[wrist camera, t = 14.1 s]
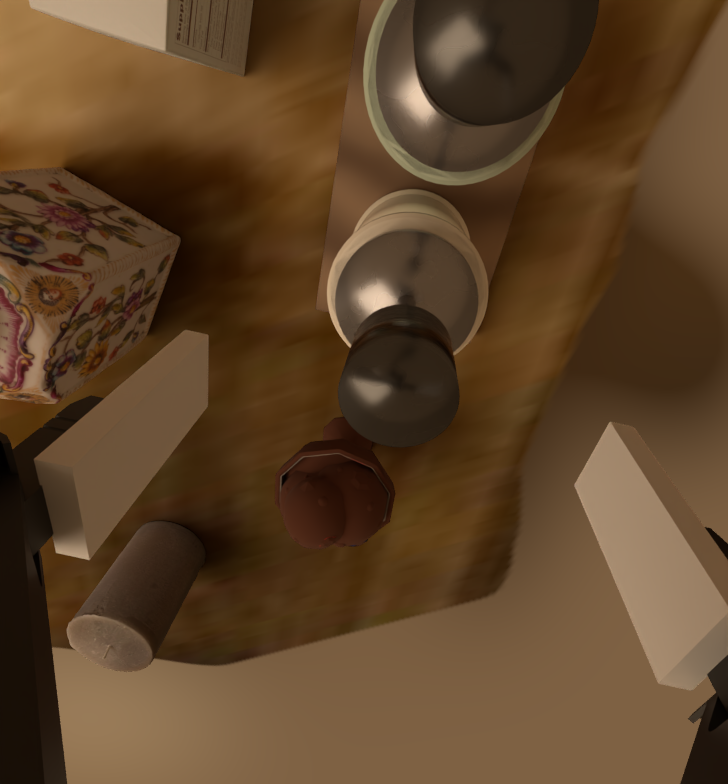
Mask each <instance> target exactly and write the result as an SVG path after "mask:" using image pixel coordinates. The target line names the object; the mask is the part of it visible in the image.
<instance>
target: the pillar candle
mask: <svg viewBox="0 0 728 784" xmlns="http://www.w3.org/2000/svg"><path fill="white" fill-rule="evenodd" d="M205 554H206V551H205V548H204V546H203V544H202V542H201V541H200V540H199V539H198V537H197V536H196V535H195V534H194V533H193V532H191V531H190V530H188V529H187V528H185V527H182V526H181V525H178V524H175V523H172V522H167V521H154V522H149V523H147V524H144V525H143V526H142V527H141V528H140V529H139V530H138V531H137V532H136V534H135V535H134V537H133V538H132V539H131V541H130V542H129V543H128V544H127V546H126V547H125V549H124V550H123V551H122V553H121V554H120V555H119V557H118V558H117V559H116V561H115V562H114V563H113V565H112V566H111V568H110V569H109V570H108V572H107V573H106V574H105V576H104V577H103V579H102V580H101V581H100V583H99V584H98V585H97V587H96V588H95V589H94V591H93V592H92V594H91V595H90V596H89V598H88V599H87V601H86V602H85V603H84V604H83V606H82V607H81V609H80V610H79V611H78V613H77V614H76V615H75V617H74V618H73V619H72V621H71V622H69V625H68V628H67V634H68V638H69V641H70V645H71V646H72V647H73V648H74V649H76V650H77V651H78V652H79V653H81V654H82V655H83V656H84V657H85V658H87V659H88V660H90V661H92V662H94V663H95V664H98V665H100V666H102V667H104V668H107V669H112V670H116V671H124V672H127V671H128V672H132V671H138V670H141V669H144V668H146V667H147V666H148V665H150V664H151V662H152V661H153V659H154V657H155V655H156V653H157V651H158V649H159V647H160V646H161V644H162V642H163V640H164V638H165V636H166V634H167V632H168V630H169V628H170V626H171V624H172V622H173V620H174V619H175V617H176V615H177V613H178V611H179V609H180V607H181V605H182V603H183V601H184V599H185V598H186V596H187V594H188V592H189V590H190V588H191V586H192V584H193V582H194V581H195V579H196V577H197V574H198V572H199V569H200V568H201V567H202V566H203V564H204V562H205V560H206V558H205V556H206V555H205Z"/></svg>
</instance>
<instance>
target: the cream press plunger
mask: <svg viewBox="0 0 728 784" xmlns="http://www.w3.org/2000/svg"><path fill="white" fill-rule="evenodd" d="M335 309H336V315H337V319H338V322H339V325H340V328H341V330H342V332H343V334H344V335H345V337H346V339H347V340H348V341H349V343H350V344H351V348H350V351H349V354H348V357H347V360H346V363H345V366H344V369H343V372H342V376H341V379H340V382H339V388H338V399H339V405H340V408H341V411H342V413H343V415H344V417H345V419H346V420H347V422H348V423H349V424H350V425H351V426H352V428H353V429H354V430H356V431H357V432H358V433H359V434H360V435H362V436H363V437H365V438H367V439H369V440H370V441H373V442H375V443H378V444H381V445H385V446H391V447H410V446H415V445H419V444H422V443H425V442H427V441H430V440H431V439H433V438H435V437H436V436H438V435H439V434H441V433H442V432H443V431H444V430H445V429H446V428H447V427H448V426H449V424H450V423H451V421H452V420H453V418H454V416H455V414H456V412H457V409H458V405H459V386H458V380H457V374H456V367H455V361H454V354H453V352H455V351H456V350H457V349H458V348H459V347H460V346H461V345H462V344H463V342H464V341H465V340H466V338H467V337H468V335H469V333H470V332H471V330H472V327H473V325H474V323H475V320H476V316H477V311H478V289H477V284H476V281H475V277H474V274H473V272H472V270H471V268H470V265H469V263H468V262H467V260H466V259H465V257H464V256H463V255H462V253H461V252H460V251H459V250H458V249H457V248H456V247H455V246H454V245H452V244H451V243H450V242H449V241H447V240H445V239H444V238H442V237H440V236H438V235H436V234H434V233H431V232H427V231H424V230H418V229H398V230H392V231H388V232H385V233H382V234H380V235H377V236H375V237H373V238H372V239H370V240H368V241H367V242H366V243H364V244H363V245H362V246H360V247H359V248H358V249H357V250H356V251H355V252H354V253H353V255H352V256H351V257H350V259H349V260H348V262H347V263H346V265H345V267H344V269H343V271H342V272H341V275H340V277H339V280H338V283H337V288H336V294H335Z"/></svg>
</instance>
